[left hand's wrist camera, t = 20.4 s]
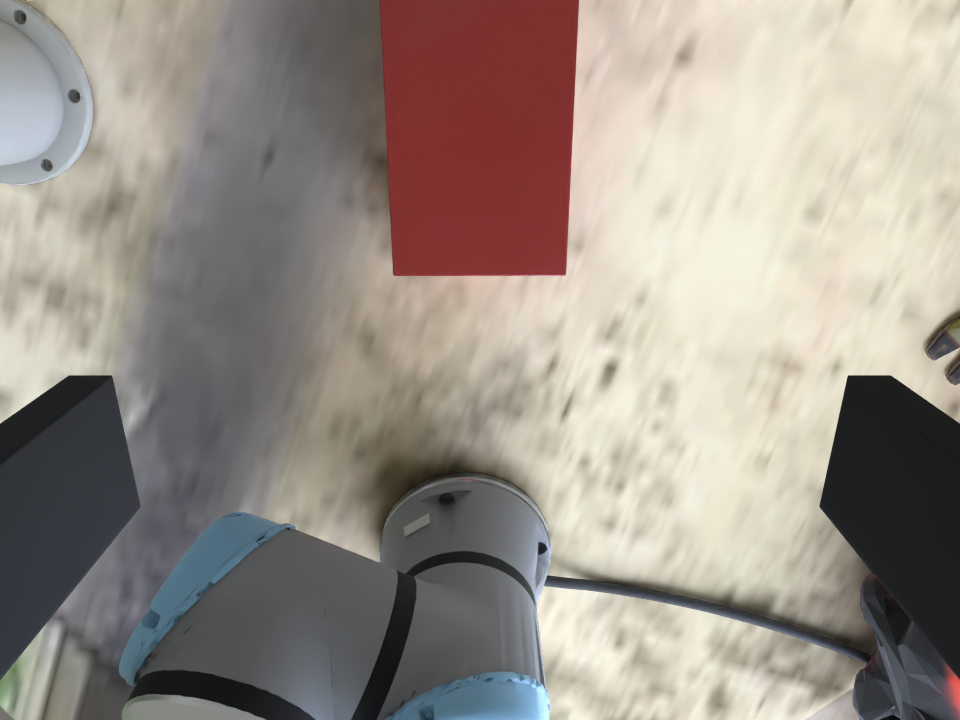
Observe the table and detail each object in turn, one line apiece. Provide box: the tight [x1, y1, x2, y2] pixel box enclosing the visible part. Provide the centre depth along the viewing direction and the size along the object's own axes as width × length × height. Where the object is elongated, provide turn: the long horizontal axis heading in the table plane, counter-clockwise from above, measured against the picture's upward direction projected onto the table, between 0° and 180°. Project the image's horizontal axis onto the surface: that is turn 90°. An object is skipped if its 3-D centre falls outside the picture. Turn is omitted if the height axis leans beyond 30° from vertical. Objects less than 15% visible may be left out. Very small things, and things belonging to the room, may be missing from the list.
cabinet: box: [380, 0, 579, 276], centre depth 44 cm, size 18×11×10 cm, turn 0°
